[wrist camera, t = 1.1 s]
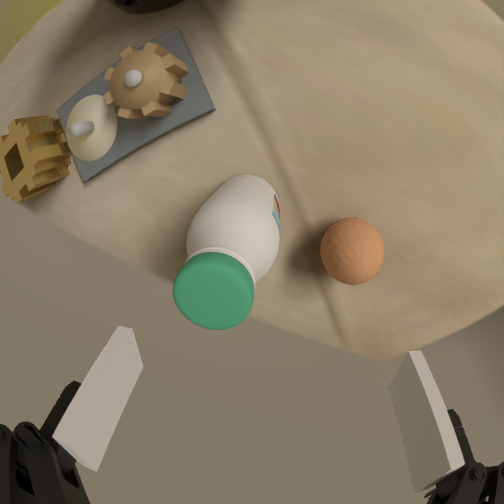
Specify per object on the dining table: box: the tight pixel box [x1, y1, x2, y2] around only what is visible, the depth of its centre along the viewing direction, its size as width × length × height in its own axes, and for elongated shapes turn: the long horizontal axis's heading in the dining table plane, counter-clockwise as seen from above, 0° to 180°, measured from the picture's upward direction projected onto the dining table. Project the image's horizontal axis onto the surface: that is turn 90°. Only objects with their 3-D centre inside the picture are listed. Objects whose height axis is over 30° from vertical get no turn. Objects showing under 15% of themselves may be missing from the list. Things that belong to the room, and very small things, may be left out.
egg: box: [320, 218, 384, 285], centre depth 30 cm, size 7×7×8 cm
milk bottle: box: [173, 174, 280, 330], centre depth 24 cm, size 8×8×20 cm
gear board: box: [57, 27, 216, 182], centre depth 25 cm, size 12×20×7 cm, turn 112°
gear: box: [0, 116, 72, 204], centre depth 28 cm, size 10×10×8 cm
